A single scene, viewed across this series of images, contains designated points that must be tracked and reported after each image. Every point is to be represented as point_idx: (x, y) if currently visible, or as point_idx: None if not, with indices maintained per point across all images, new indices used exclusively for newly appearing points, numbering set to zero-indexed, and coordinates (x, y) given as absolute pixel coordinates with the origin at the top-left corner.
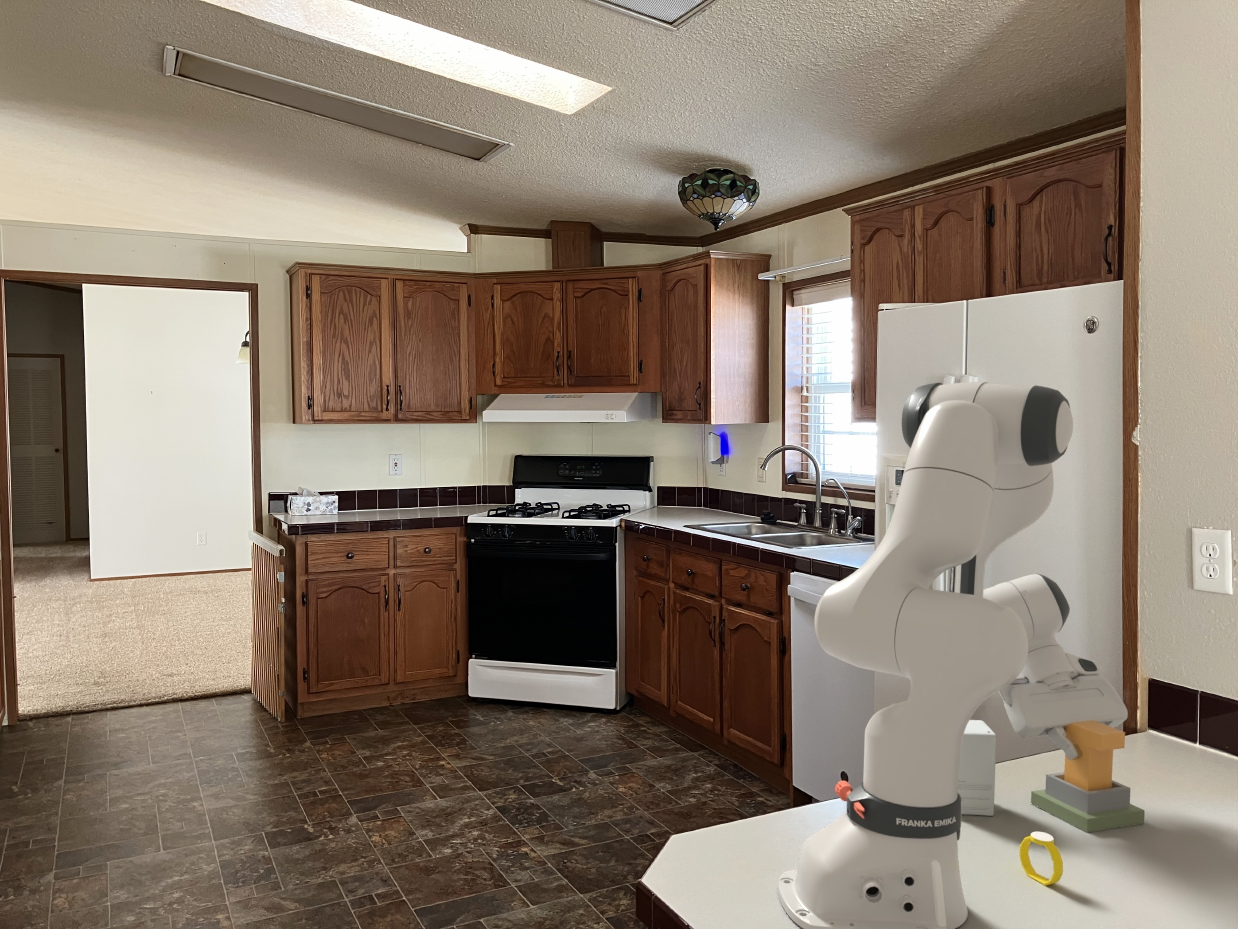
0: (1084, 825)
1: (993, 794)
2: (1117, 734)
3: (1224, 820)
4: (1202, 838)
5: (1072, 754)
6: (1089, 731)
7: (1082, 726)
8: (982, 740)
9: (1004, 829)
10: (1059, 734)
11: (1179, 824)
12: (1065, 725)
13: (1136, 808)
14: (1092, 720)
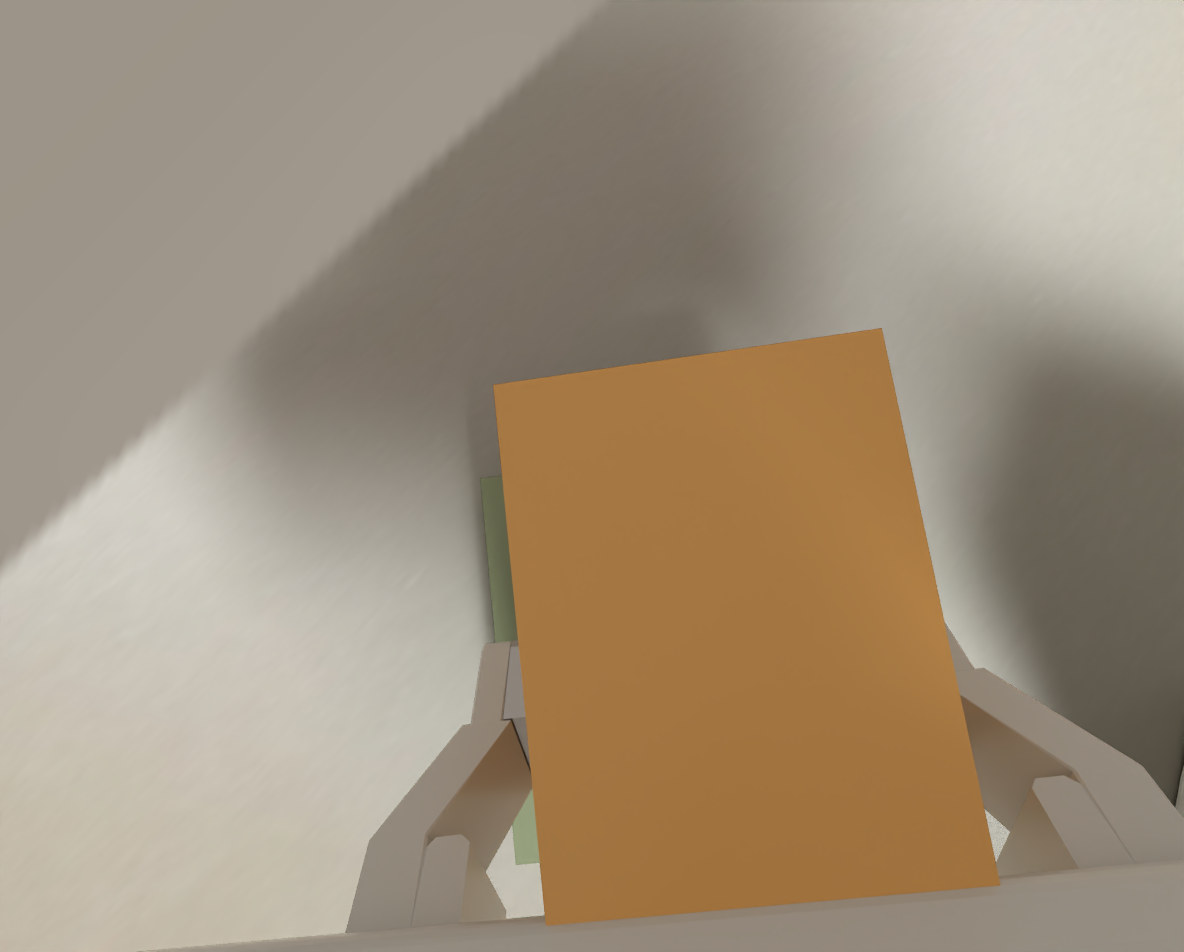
0: None
1: None
2: (614, 372)
3: (135, 462)
4: (374, 326)
5: None
6: (914, 516)
7: (905, 694)
8: None
9: None
10: (1135, 770)
11: (350, 457)
12: (1063, 870)
13: (502, 504)
14: (559, 924)
